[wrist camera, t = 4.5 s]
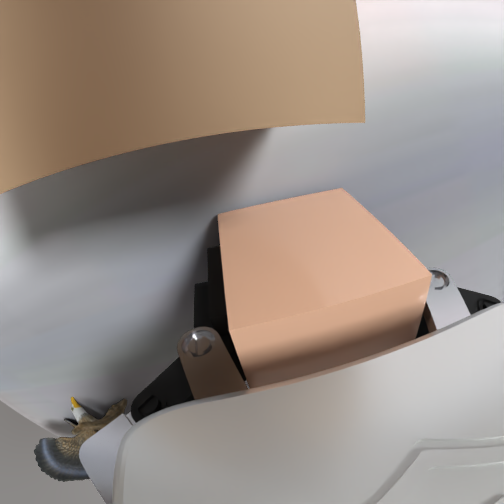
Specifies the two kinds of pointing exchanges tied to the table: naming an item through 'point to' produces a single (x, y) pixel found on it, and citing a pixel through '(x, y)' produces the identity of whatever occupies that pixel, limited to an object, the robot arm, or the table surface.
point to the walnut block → (166, 74)
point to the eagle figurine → (73, 444)
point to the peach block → (315, 285)
